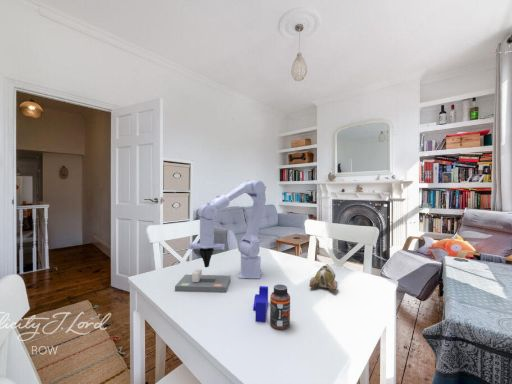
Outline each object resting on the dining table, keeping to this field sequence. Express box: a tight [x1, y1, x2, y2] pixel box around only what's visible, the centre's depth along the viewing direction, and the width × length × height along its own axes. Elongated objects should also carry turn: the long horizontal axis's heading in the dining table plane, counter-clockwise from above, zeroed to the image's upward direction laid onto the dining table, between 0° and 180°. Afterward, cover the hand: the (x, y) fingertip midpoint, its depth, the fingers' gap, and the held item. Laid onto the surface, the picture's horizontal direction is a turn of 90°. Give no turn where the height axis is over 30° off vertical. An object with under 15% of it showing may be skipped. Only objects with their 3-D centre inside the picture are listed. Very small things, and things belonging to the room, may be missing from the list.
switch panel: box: [174, 274, 231, 293], centre depth 97 cm, size 20×12×2 cm, turn 88°
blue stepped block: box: [252, 285, 269, 323], centre depth 77 cm, size 12×4×6 cm, turn 173°
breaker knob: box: [191, 268, 203, 282], centre depth 97 cm, size 2×5×4 cm, turn 178°
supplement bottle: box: [269, 283, 291, 330], centre depth 70 cm, size 6×6×11 cm
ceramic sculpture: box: [308, 263, 338, 292], centre depth 97 cm, size 11×9×15 cm
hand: (206, 266), depth 97 cm, fingers closed
